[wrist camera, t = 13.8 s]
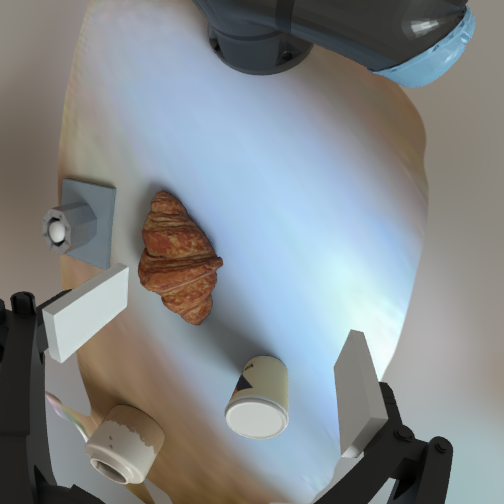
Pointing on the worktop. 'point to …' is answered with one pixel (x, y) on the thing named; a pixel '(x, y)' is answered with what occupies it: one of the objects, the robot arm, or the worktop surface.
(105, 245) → the shaft block
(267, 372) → the coffee cup
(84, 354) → the worktop surface
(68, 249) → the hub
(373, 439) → the robot arm
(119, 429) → the vase
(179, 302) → the pastry
